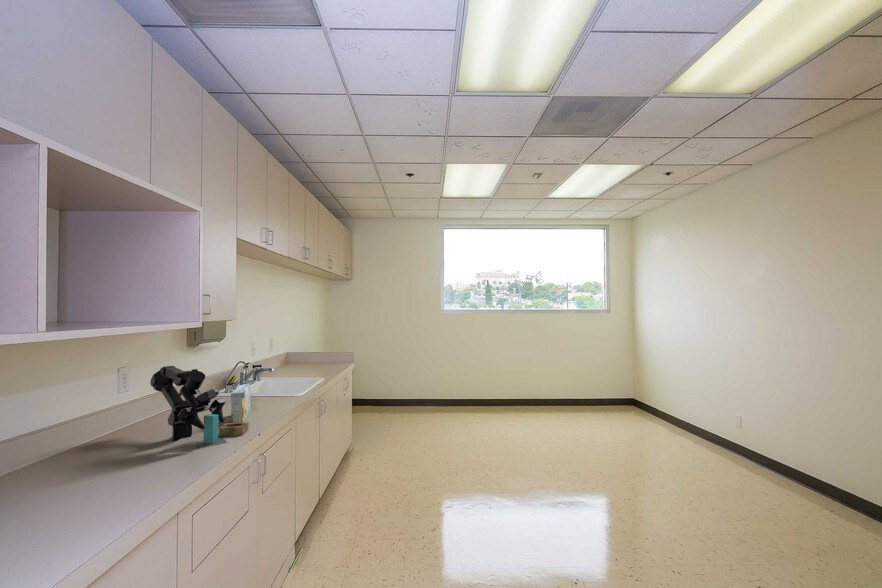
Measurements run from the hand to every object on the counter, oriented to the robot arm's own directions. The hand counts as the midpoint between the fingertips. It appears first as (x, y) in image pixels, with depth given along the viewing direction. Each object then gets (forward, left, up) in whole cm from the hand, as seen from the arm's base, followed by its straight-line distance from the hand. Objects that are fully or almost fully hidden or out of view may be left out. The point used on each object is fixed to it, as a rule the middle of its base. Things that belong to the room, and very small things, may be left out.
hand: (213, 425), depth 157 cm
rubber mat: (-1, +1, -8) cm, 8 cm away
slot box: (+9, +8, -8) cm, 14 cm away
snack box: (+18, +34, -8) cm, 39 cm away
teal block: (-1, +1, -7) cm, 7 cm away
